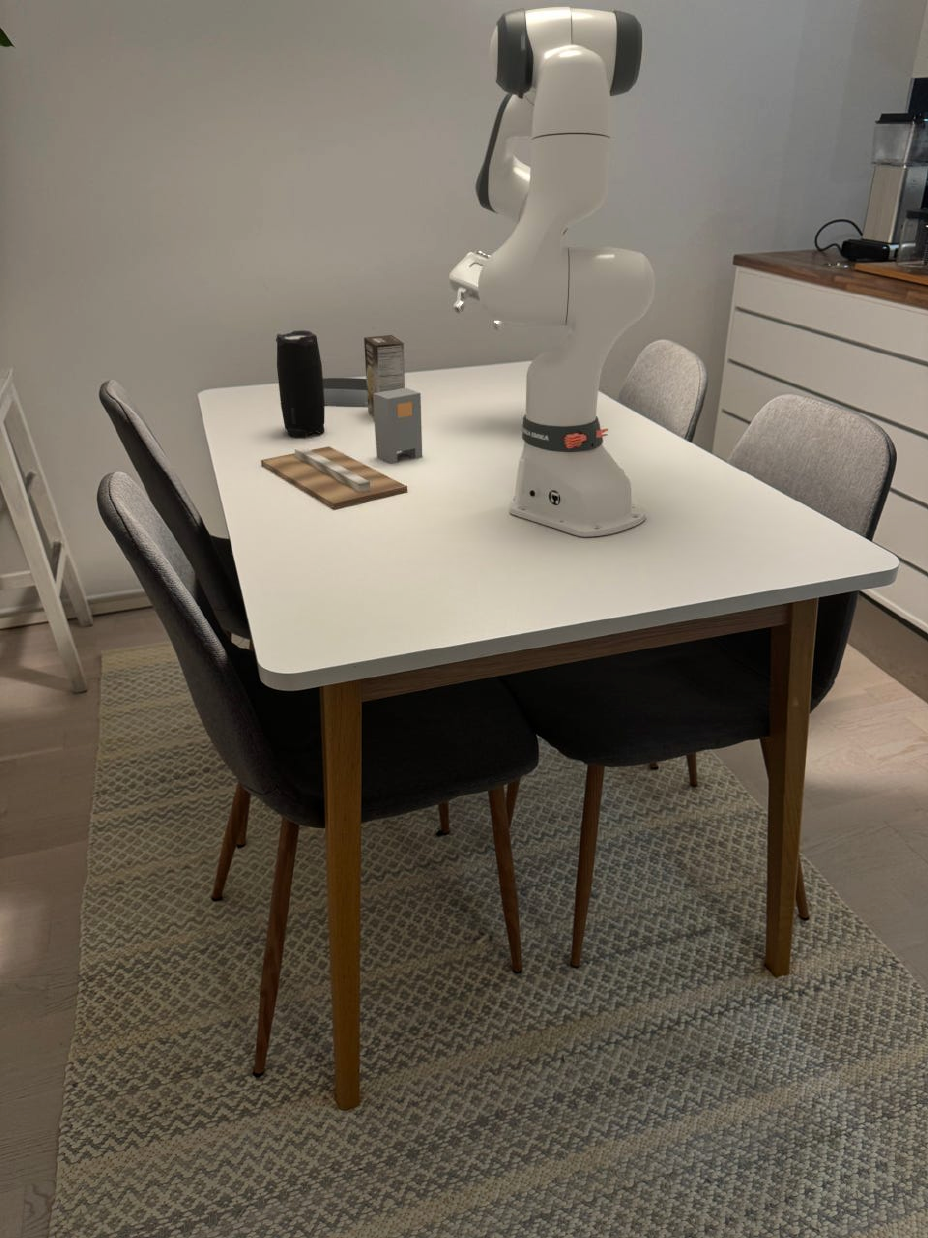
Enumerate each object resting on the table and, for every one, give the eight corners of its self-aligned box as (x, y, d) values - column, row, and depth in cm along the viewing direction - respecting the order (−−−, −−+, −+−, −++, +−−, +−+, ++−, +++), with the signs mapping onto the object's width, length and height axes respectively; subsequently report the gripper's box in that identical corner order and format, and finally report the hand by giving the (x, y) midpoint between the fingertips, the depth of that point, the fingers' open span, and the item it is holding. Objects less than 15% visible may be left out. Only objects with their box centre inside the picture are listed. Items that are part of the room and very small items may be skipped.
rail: (407, 491, 156) (406, 477, 154) (334, 509, 148) (332, 494, 147) (329, 451, 176) (328, 438, 175) (261, 465, 169) (259, 452, 167)
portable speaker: (306, 424, 192) (298, 327, 183) (336, 432, 187) (329, 333, 178) (273, 433, 187) (263, 334, 178) (303, 441, 181) (294, 340, 172)
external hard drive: (381, 410, 204) (380, 391, 202) (297, 407, 206) (295, 389, 205) (394, 395, 215) (393, 378, 213) (314, 393, 218) (313, 375, 216)
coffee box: (366, 412, 201) (362, 336, 193) (394, 409, 203) (391, 334, 195) (379, 422, 193) (375, 344, 186) (408, 419, 195) (405, 342, 188)
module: (422, 456, 172) (420, 392, 167) (390, 463, 169) (387, 398, 163) (408, 450, 176) (405, 387, 170) (376, 457, 172) (373, 393, 167)
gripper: (469, 236, 179) (429, 289, 177) (557, 271, 172) (517, 327, 169) (475, 259, 185) (436, 311, 182) (561, 294, 177) (522, 348, 175)
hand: (476, 319), depth 176 cm, fingers open, 8 cm apart
